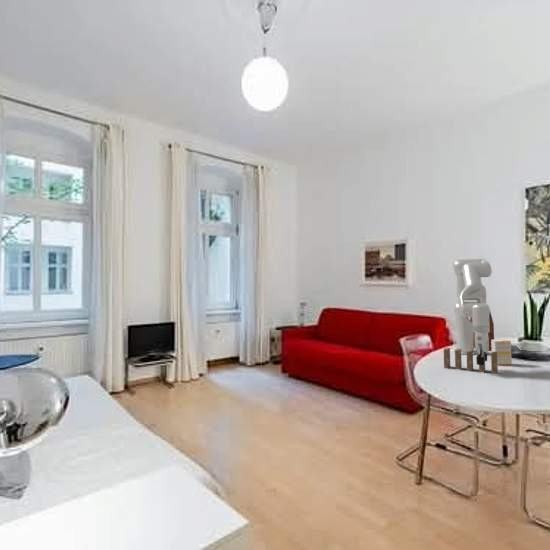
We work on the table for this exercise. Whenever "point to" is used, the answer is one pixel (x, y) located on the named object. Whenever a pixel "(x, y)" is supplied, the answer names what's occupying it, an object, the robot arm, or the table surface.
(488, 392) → the table surface
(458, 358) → the domino
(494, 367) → the domino
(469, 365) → the domino
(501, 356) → the supplement box
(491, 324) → the handbag
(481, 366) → the domino
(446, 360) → the domino
